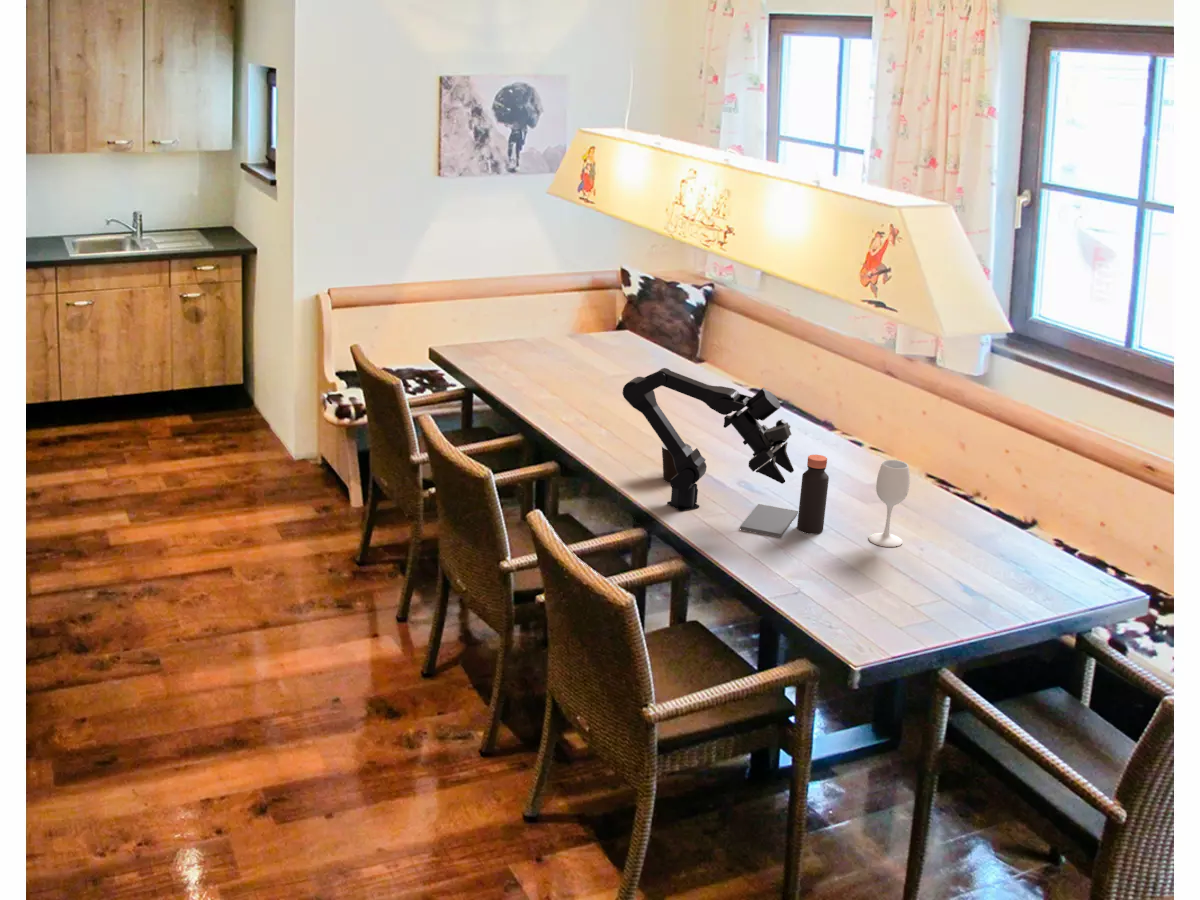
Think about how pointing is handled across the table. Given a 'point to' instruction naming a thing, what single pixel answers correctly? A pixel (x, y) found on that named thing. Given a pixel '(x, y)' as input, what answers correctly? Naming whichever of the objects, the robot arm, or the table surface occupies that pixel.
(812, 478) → the vinegar
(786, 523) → the gray board
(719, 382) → the table surface
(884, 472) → the wineglass
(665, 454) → the coffee mug
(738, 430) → the robot arm
